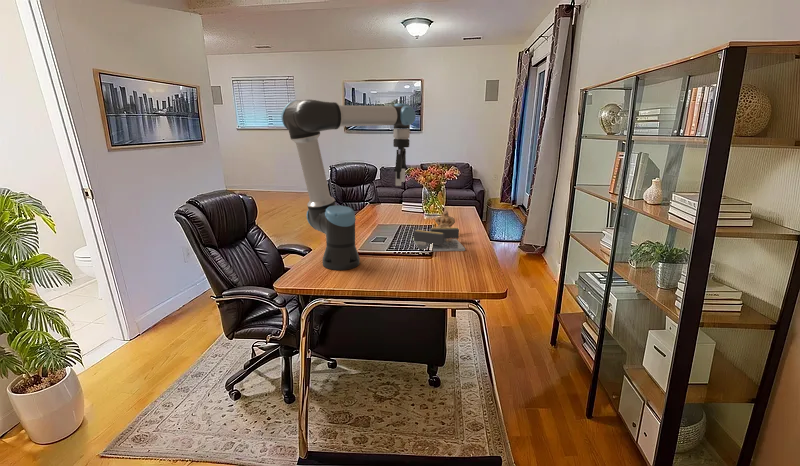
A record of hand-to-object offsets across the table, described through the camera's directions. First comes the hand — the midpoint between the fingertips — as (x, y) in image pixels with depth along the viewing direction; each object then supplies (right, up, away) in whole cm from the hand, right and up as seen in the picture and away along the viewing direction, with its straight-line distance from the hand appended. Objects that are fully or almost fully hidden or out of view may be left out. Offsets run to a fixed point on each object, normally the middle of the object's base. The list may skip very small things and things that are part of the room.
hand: (400, 183), depth 181 cm
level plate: (+18, -30, +1) cm, 35 cm away
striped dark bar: (+14, -29, -2) cm, 32 cm away
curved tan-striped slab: (+22, -27, +6) cm, 35 cm away
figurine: (+23, -25, +20) cm, 39 cm away
